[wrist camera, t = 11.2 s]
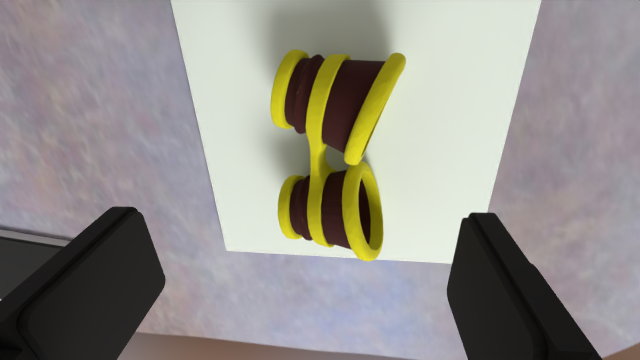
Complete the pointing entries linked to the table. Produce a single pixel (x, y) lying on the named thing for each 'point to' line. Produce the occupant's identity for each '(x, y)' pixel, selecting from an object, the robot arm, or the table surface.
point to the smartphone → (23, 257)
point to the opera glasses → (333, 146)
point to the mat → (393, 126)
